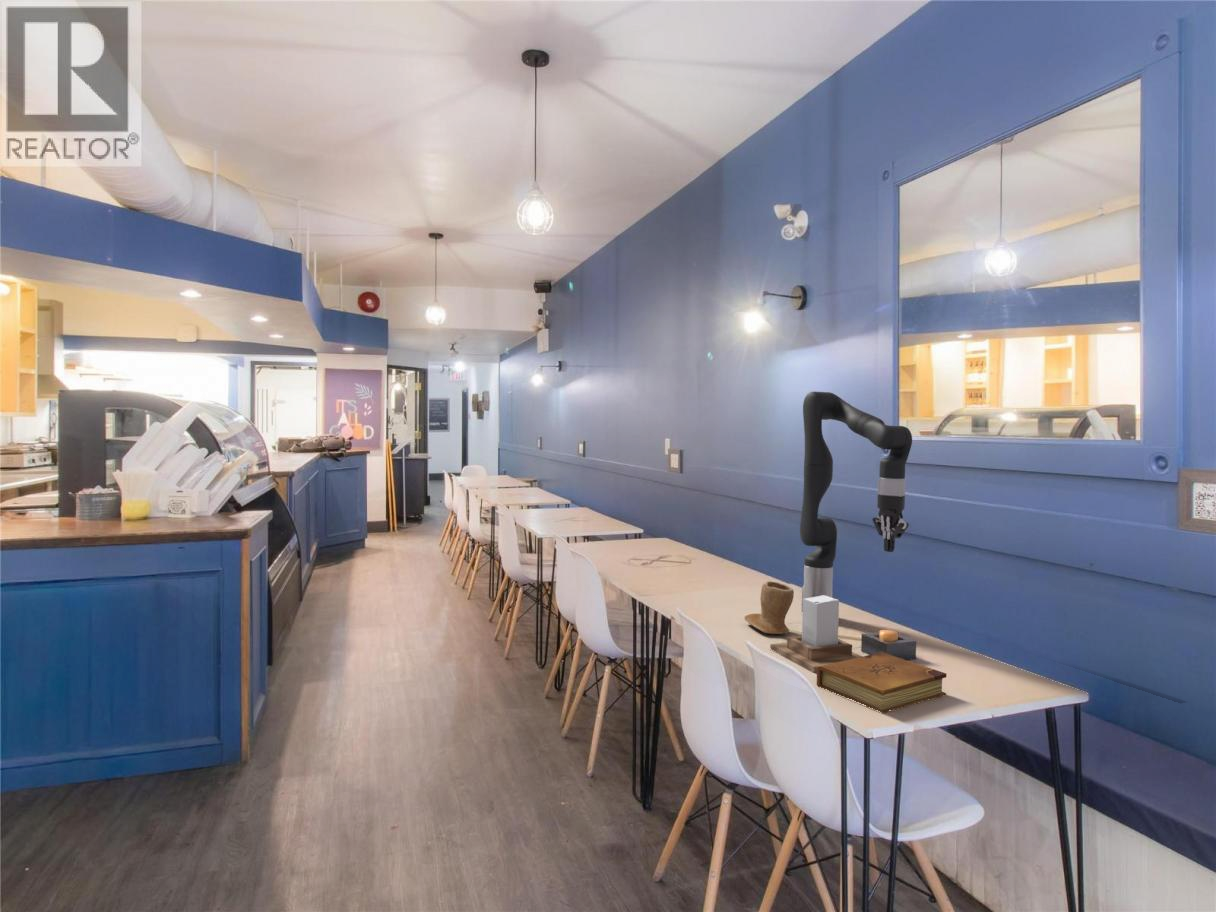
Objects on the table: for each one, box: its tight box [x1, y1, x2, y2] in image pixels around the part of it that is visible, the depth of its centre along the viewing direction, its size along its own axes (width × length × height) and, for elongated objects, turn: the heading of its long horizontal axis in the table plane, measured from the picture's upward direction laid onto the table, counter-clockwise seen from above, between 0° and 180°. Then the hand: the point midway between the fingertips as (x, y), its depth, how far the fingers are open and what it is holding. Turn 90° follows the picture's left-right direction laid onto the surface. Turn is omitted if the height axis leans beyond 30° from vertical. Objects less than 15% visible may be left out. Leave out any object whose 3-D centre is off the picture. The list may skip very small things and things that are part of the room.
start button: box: [878, 629, 899, 641], centre depth 193 cm, size 5×5×4 cm
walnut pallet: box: [769, 635, 863, 674], centre depth 190 cm, size 20×18×4 cm
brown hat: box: [743, 580, 795, 635], centre depth 216 cm, size 15×12×15 cm
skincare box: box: [801, 595, 840, 647], centre depth 189 cm, size 8×6×15 cm
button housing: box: [860, 631, 917, 661], centre depth 193 cm, size 10×10×5 cm
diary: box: [816, 652, 947, 713], centre depth 166 cm, size 23×19×6 cm
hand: (888, 551), depth 205 cm, fingers closed
